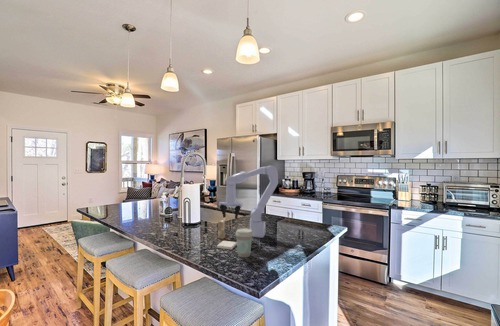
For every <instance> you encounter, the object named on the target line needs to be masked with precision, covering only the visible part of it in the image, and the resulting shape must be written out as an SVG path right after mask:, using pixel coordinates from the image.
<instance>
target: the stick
mask: <svg viewBox="0 0 500 326" xmlns="http://www.w3.org/2000/svg"><path fill="white" fill-rule="evenodd" d="M217 223H218V224H217V239H221V240H223V239H225V236H226V235H225V234H226V220H223V219H221V220H218V222H217Z"/></svg>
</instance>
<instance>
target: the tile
mask: <svg viewBox="0 0 500 326" xmlns="http://www.w3.org/2000/svg"><path fill="white" fill-rule="evenodd" d="M235 247H237V241H229V240H222V241H221V242H219V243H218V244H217V246H216V248H217V249H223V250H233V249H234V248H235Z"/></svg>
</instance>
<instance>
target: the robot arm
mask: <svg viewBox="0 0 500 326" xmlns="http://www.w3.org/2000/svg"><path fill="white" fill-rule="evenodd" d="M257 175H267V176H268V180H269V183H268V185H267V186H266V189H265V190H264V191H263V194H262V195H261V197H260V198H259V200H258V203H257V204H256V205H255V206H254V208H252V210H250V219H249V229H251V230H252V232H253V236H252V238H262V239H263V238H264V237H265V235H266V221H264V220H262V214H263V212H264V209H265V207H266V206H267V204H268V203H269V201H270V199H271V197H272V195H273V194H274V192H275V190H276V188H277V187H278V185H279V171H278V169H277V167H276V166H274V165H267V166H261V167H258V168H256V169H252V170H250V171H248V172H246V171H242V170H241V171H239V173H233V174H232V175H230V176H227V178H226V179H225V183H226V186H225V187H226V188H225V201H219V202H218V206H219V209H220V210H221V213H222V217H223V218H226V217H227V214H226V211H227V207H234V211H235V212H234V217H235V218H234V219H236V220H237V219H238V216H239V213H240V210H241V208H242V207H243V203H241V202H236V184H241V183H242V182H246V181H248V178H251V177H254V176H257Z"/></svg>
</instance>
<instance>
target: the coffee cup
mask: <svg viewBox="0 0 500 326" xmlns="http://www.w3.org/2000/svg"><path fill="white" fill-rule="evenodd" d="M234 235H235V237H236V238H235V239H236V242H237V245H236V249H237V256H238V257H239V258H249V257H250V256H251V249H252V242H253V241H252V240H253V237H252V236H253V232H252V230H251V229H250V228H248V227H247V228H246V227H245V228H244V227H243V228H237V229H236V232H235V234H234Z"/></svg>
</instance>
